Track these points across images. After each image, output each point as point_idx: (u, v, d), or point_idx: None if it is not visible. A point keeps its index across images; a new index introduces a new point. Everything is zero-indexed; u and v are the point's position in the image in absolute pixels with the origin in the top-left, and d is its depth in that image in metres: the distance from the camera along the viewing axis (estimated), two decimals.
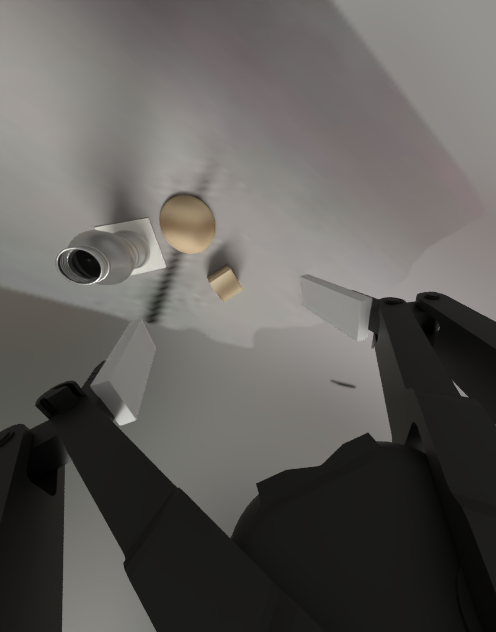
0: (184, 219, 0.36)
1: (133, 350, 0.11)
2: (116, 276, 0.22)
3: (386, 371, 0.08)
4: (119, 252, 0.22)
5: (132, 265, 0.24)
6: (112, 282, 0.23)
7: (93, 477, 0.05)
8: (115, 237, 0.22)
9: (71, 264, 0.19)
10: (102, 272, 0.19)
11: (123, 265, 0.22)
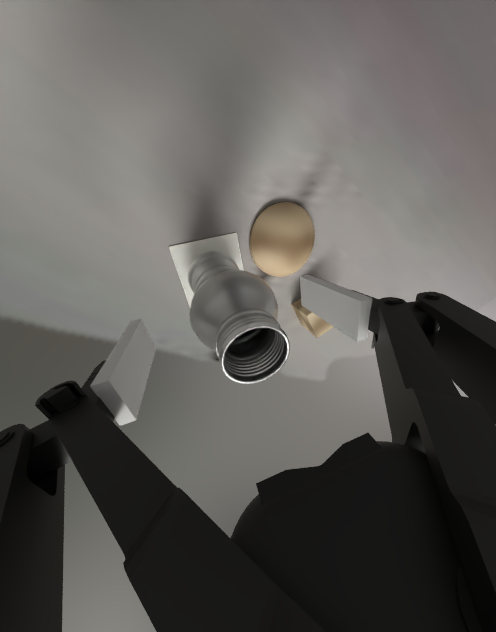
0: (280, 234, 0.27)
1: (133, 350, 0.11)
2: (261, 342, 0.14)
3: (386, 371, 0.08)
4: (275, 308, 0.13)
5: None
6: (250, 350, 0.14)
7: (93, 477, 0.05)
8: (263, 281, 0.13)
9: None
10: (285, 359, 0.10)
11: None
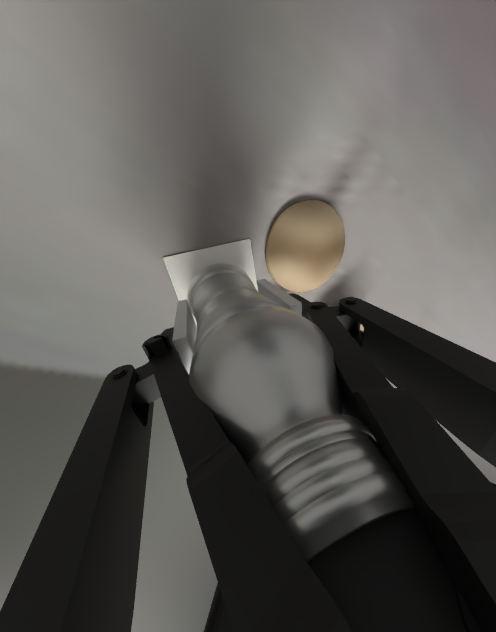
0: (304, 240, 0.21)
1: (189, 321, 0.13)
2: None
3: None
4: None
5: None
6: None
7: (172, 410, 0.06)
8: (316, 328, 0.08)
9: None
10: None
11: None
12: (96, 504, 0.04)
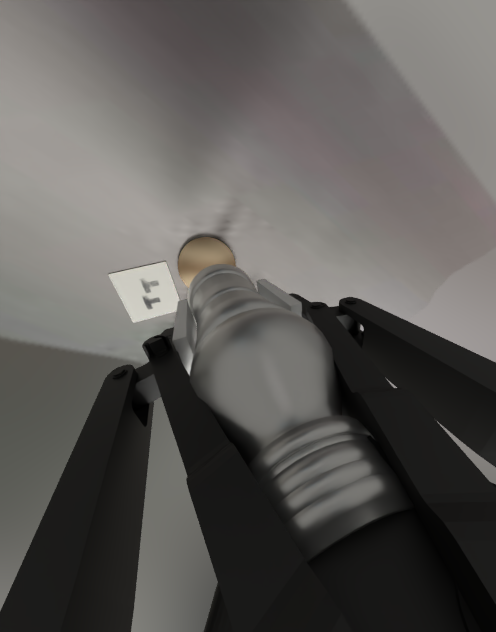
0: (203, 261, 0.33)
1: (189, 321, 0.13)
2: None
3: None
4: None
5: None
6: None
7: (172, 410, 0.06)
8: (316, 329, 0.08)
9: None
10: None
11: None
12: (96, 504, 0.04)
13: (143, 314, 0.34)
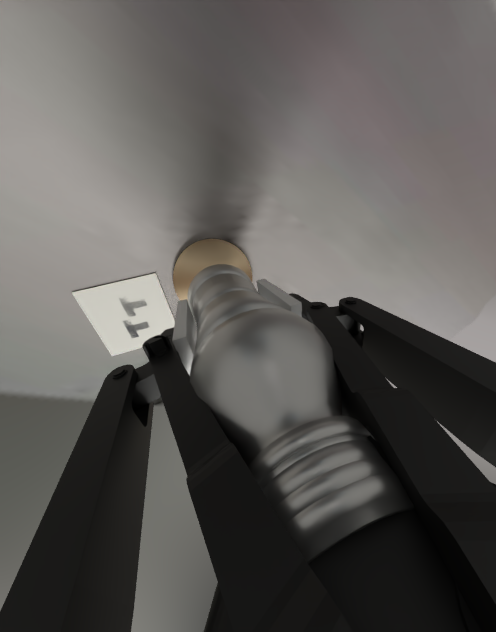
0: None
1: (189, 321, 0.13)
2: None
3: None
4: None
5: None
6: None
7: (172, 410, 0.06)
8: (316, 329, 0.08)
9: None
10: None
11: None
12: (96, 504, 0.04)
13: (125, 344, 0.25)
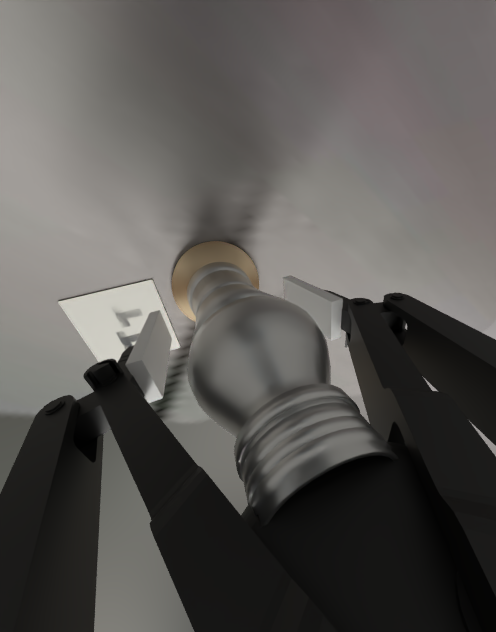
0: None
1: (156, 337, 0.12)
2: None
3: (362, 370, 0.08)
4: (329, 359, 0.08)
5: None
6: None
7: (127, 445, 0.06)
8: (307, 314, 0.08)
9: None
10: None
11: None
12: (30, 565, 0.04)
13: (119, 357, 0.23)
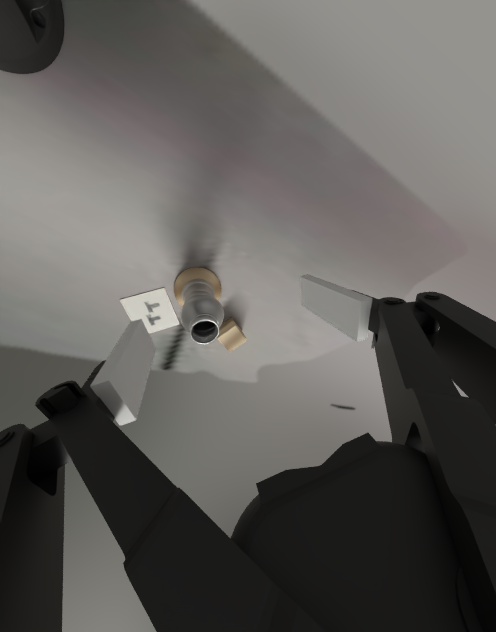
0: None
1: (133, 350, 0.11)
2: None
3: (386, 371, 0.08)
4: (219, 312, 0.28)
5: (223, 318, 0.30)
6: None
7: (93, 477, 0.05)
8: (214, 300, 0.28)
9: (192, 327, 0.26)
10: (218, 333, 0.25)
11: (221, 321, 0.28)
12: None
13: (147, 329, 0.43)
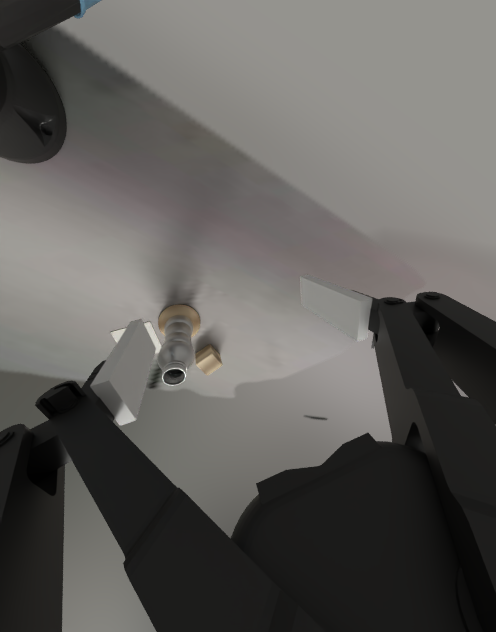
0: None
1: (133, 350, 0.11)
2: None
3: (386, 371, 0.08)
4: (189, 356, 0.34)
5: None
6: (182, 372, 0.36)
7: (93, 477, 0.05)
8: (186, 345, 0.35)
9: None
10: (185, 377, 0.31)
11: (190, 363, 0.35)
12: None
13: None
